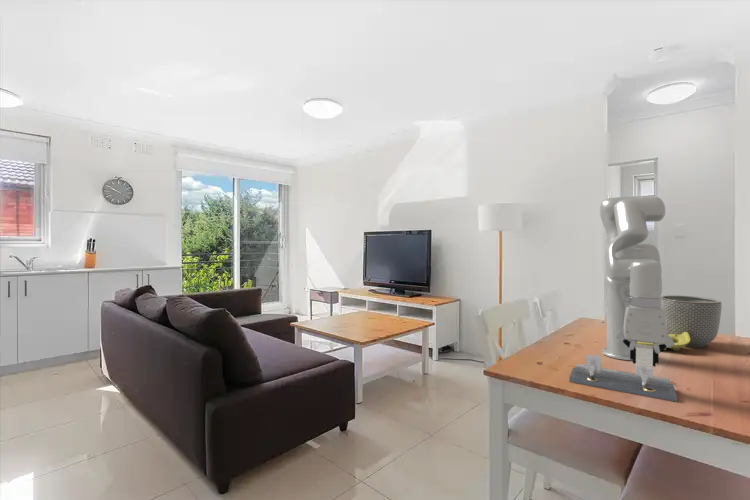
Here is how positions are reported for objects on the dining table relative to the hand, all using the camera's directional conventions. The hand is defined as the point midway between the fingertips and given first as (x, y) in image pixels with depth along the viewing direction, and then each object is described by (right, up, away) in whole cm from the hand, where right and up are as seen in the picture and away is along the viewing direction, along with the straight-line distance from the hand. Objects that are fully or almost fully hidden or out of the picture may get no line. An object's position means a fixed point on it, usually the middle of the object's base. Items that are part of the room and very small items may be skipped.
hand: (643, 363), depth 110 cm
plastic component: (+33, -6, +39) cm, 52 cm away
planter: (+50, -6, +43) cm, 66 cm away
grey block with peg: (-1, -5, -2) cm, 6 cm away
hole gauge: (-6, -7, +2) cm, 10 cm away
